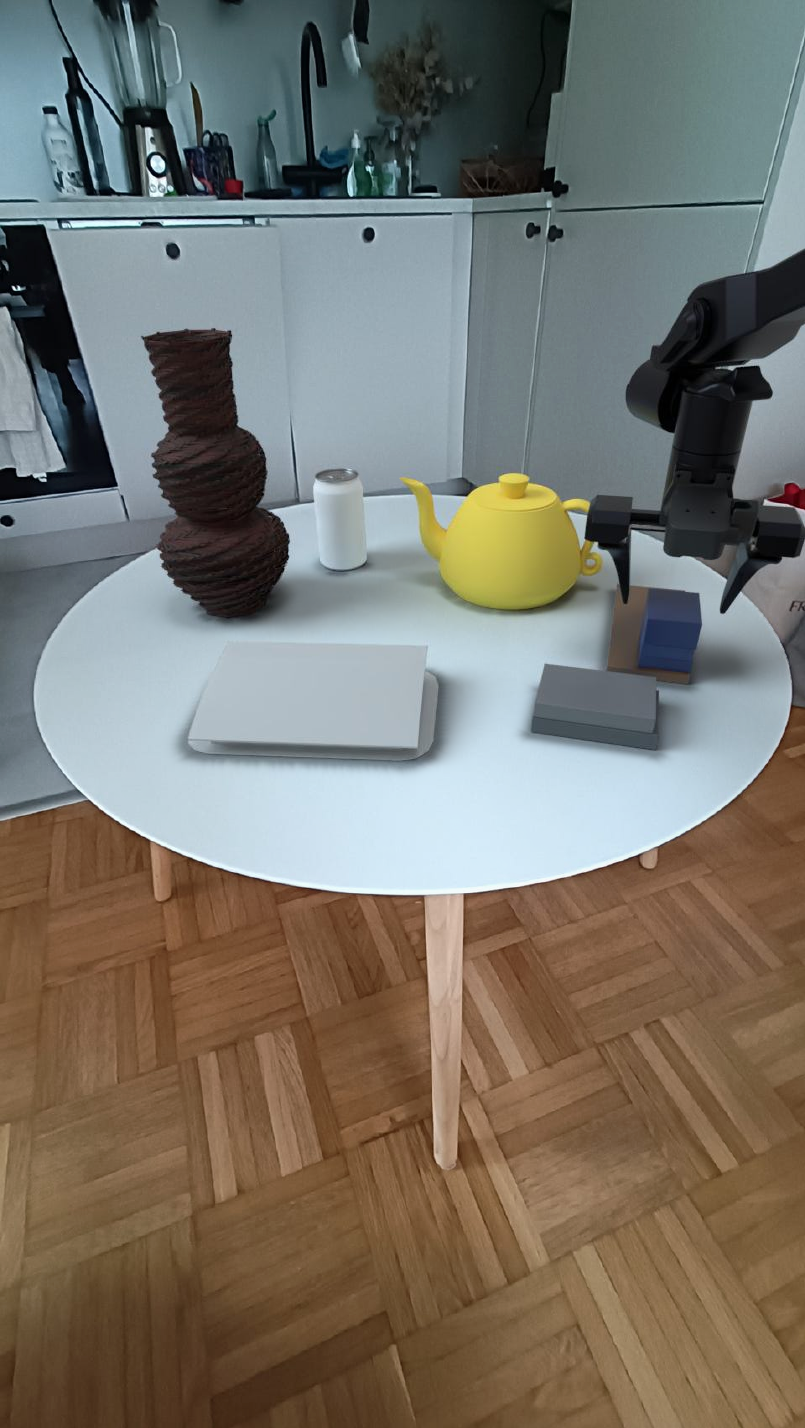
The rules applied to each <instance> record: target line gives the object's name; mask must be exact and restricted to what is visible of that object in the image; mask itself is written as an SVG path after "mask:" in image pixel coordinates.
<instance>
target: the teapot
mask: <svg viewBox="0 0 805 1428" xmlns="http://www.w3.org/2000/svg"><path fill="white" fill-rule="evenodd" d="M399 480H400V481H401V482H402V483H403V484H405V486H406V487H408V488H409V490H411V492H412V493H413V496H414V497H415V500H416V503H417V509H418V526H419V528H418V529H419V534H420V539H421V543H422V545H423V548H424V549H425V551H426V552H427V553H428V554H429V556H430V557H432V558H433V559H434V560H435V561H436V562H438V570H439V571H438V572H439V573H440V576H441V578H442V580H443V581H444V582H445V584H446V585H447V586H448V587H449V588H450V589H451V590H452V591H453V592H454V594H455V595H457V596H458V597H460V599H462V600H463V601H466V602H468V603H470V604H473V605H476V606H479V607H483V608H489V609H494V610H495V609H496V610H511V611H512V610H513V611H515V610H528V609H534V608H538V607H543V606H545V605H549V604H551V603H553V602H555V601H556V600H558V599H559V598H560V597H562V596H563V595H564V594H565V593H567V592H568V591H569V590H570V589H571V588H572V587H573V586H574V585H576V582H577V581H578V579H579V577H580V575H582V576H585V577H592V576H594V575H597V574H598V573H600V571H601V570H602V568H603V563H604V561H603V557H602V555H601V554H600V553H598V552H595V551H592V550H593V549H592V548H593V546H594V544H595V542H590V541H588V540H585V539H584V542H583V545H582V546H581V544H580V540H579V536H578V533H577V530H576V527H575V525H574V522H573V520H572V518H571V517H570V515H569V512H568V511H575V510H576V511H582V512H585V513H587V514H588V510H589V506H590V502H591V501H588V500H586V499H582V498H572V499H568V500H565V501H562V500H561V498H560V496H559V495H558V494H557V493H556V492H555V491H553V489H551V488H549V487H547V486H544V485H540V484H536V483H531V482H530V477H529V476H528V475H526V474H524V473H517V472H512V473H505V474H502V475H500V476H499V477H498V482H493V483H489V484H484V485H481V486H479V487H477V488H475V489H473V490H472V491H471V492H470V493H468V495H467V496H466V498H465V499H464V500H463V502H462V504H461V505H460V507H459V508H458V509H457V511H456V513H455V514H454V516H453V518H452V519H451V521H450V523H449V525H448V527H447V529H446V528H444V527H443V526H442V525H441V524H440V523H439V522H438V520H437V518H436V515H435V505H434V499H433V495H432V492H431V490H430V489H429V487H428V486H427V485H426V484H424V483H422V482H421V481H419V480H416V479H412V478H408V477H402V476H401V477H399ZM588 560H593V561H594V562H595V563H594V564H593V565H588V564H587V561H588Z"/></svg>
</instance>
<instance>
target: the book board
mask: <svg viewBox="0 0 805 1428" xmlns="http://www.w3.org/2000/svg"><path fill="white" fill-rule="evenodd" d="M649 588H652V589H662V590H673V591H684V592H686V590H683V589H675V588H674V589H673V588H662V587H651V586H641V585H631V584H630V590H629V597H628V603H627V604H623V600H622V595H621V590H620V585H619V584H618V583H617V584H616V588H615V595H614V603H613V604H614V605H613V614H612V619H611V620H612V621H611V628H610V635H609V636H610V637H609V645H608V654H607V662H606V670H605V671H609V672H618V673H626V674H634V675H642V676H650V677H656V682H657V681H659V682H667V683H673V684H674V683H675V684H682V685H689V682H690V678H691V672H690V673H683V672H674V671H666V670H658V669H650V668H641V667H638V656H639V638H640V630H641V625H642V620H643V615H644V611H645V606H646V600H647V595H648V590H649Z"/></svg>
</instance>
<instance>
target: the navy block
mask: <svg viewBox="0 0 805 1428" xmlns="http://www.w3.org/2000/svg"><path fill="white" fill-rule="evenodd" d="M702 627H703V619H702V607H701V596H700V592H692V591H685V592H684V591H673V590H662V589H652V588H649V590H648V595H647V600H646V606H645V611H644V631H643V643H644V644H653V645H662V646H671V647H680V648H689V649H694V650H697V648H698V643H699V639H700V635H701V631H702Z"/></svg>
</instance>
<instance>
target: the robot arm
mask: <svg viewBox="0 0 805 1428" xmlns="http://www.w3.org/2000/svg"><path fill="white" fill-rule="evenodd" d="M802 326H805V248H803V249H801V250H798V251H797V252H796V253H794V254H792V255H790V256H788V257H786V258H785V259H783V260H781V261H779V262H777V263H776V264H774V265H772V266H770V267H767V268H763V269H760V270H755V271H750V272H744V273H743V272H742V273H738V274H732V275H727V276H723V277H720V278H716V279H712V280H708V281H705V282H702V283H700V284H698V285H697V286H696V287H695V288H694V289H692V291H691V293H690V294H689V295H688V297H687V298H686V303H685V305H684V306H683V307H682V309H681V311H680V312H679V314H678V316H677V317H676V319H675V321H674V323H673V325H672V326H671V328H670V330H669V331H668V333H667V335H666V337H665V338H664V340H663V341H662V343H661V344H653V345H652V346H651V350H650V356H649V359H647V360H645V361H644V362H643V363H641V364H640V365H639V366H638V367H637V369H635V370H634V372H633V374H632V376H630V377H631V378H630V380H629V382H628V383H627V385H626V388H625V404H626V408H627V409H628V411H629V412H630V414H631V415H632V416H633V417H634V418H636V419H639V420H640V421H642V422H645V423H647V424H649V425H652V426H654V427H656V428H658V429H660V430H663V431H664V432H667V433H669V434H673V439H672V444H671V450H670V455H669V460H668V466H667V470H666V471H667V472H666V477H665V482H664V488H663V494H662V499H661V505H660V509H659V510H655V509H640V508H633V500H634V496H623V495H608V494H607V495H606V494H596V496H595V497H593V498H592V499H591V500H590V501H589V502H590V506H589V510H588V513H587V516H586V522H585V529H584V538H583V539H584V541H585V540H588V541H590V542H594V543H597V548H598V550H601V551H607V552H608V554H609V555H610V557H611V560H612V562H613V565H614V567H615V570H616V573H617V579H618V583H619V585H620V590H621V595H622V600H623V604H627V603H628V597H629V590H630V585H631V564H632V561H631V559H632V558H631V557H632V531H642V532H656V533H664V537H663V546H662V549H663V550H662V551H663V552H664V554H666V555H667V556H669V557H672V558H682V557H689V558H702V559H703V560H704V561H715V560H718V559H719V558H721V557H722V556H723V552H724V549H725V546H735V547H737V550H736V552H735V556H734V559H733V562H732V564H731V567H730V570H729V573H728V576H727V579H726V582H725V585H724V587H723V591H722V594H721V600H720V605H719V614H721V615H725V614H726V613H727V611H728V610H729V608H730V607H731V606H732V604H733V603H734V602H735V600H736V599H737V597H738V596H739V595H740V593H741V592H742V590H744V588H745V586H746V585H747V583H748V582H749V581H750V580H751V579H752V578H753V577H754V575H756V573H758V571H760V570H761V569H763V568H765V567H766V566H768V565H779V564H781V562H782V560H783V558H788V559H789V558H790V559H795V558H798V557H801V554H802V551H803V547H804V544H805V524H804V522H803V519H802V516H801V514H800V513H799V512H798V510H797V508H796V507H793V506H781V505H779V506H778V505H766V504H765V505H763V504H759V500H757V499H756V500H755V499H754V500H753V499H741V498H736V497H734V491H733V487H734V483H735V478H736V475H737V470H738V465H739V461H740V458H741V453H742V448H743V444H744V439H745V436H746V431H747V427H748V424H749V419H750V415H751V411H752V407H753V402H757V401H765V400H766V401H767V400H770V399H771V398H772V397H773V395H774V390H773V389H772V386H771V385H770V383H769V381H768V380H767V379H766V378H765V376H764V375H763V373H762V369H761V366H760V365H757V364H756V365H747V363H749V362H750V361H753V360H762V359H765V358H767V357H769V356H771V355H772V354H773V353H775V352H777V351H778V350H780V349H781V348H783V347H784V346H786V345H787V344H789V343H790V342H792V341H793V340H794V339H795V338H796V337H797V335H798V334H799V331H800V330H801V328H802ZM725 367H734V368H733V370H732V369H729V368H725Z"/></svg>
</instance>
